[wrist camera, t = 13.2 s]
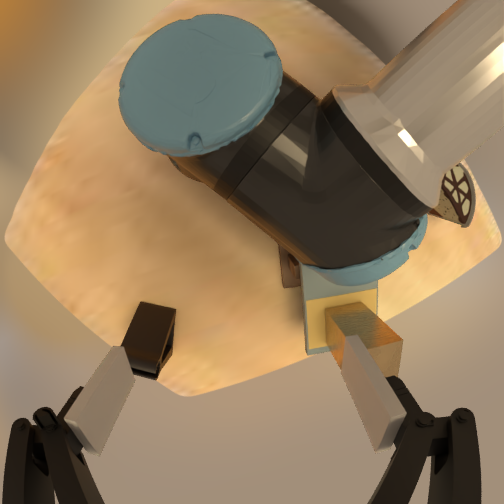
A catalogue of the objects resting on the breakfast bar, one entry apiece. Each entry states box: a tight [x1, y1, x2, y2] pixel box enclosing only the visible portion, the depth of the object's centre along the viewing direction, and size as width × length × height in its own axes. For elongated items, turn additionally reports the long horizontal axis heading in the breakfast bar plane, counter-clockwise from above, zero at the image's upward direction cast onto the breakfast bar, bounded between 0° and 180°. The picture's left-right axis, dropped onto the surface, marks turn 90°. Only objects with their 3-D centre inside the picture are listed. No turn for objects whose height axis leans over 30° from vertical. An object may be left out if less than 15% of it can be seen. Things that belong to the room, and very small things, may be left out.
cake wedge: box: [428, 163, 476, 228], centre depth 34 cm, size 12×6×10 cm, turn 48°
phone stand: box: [121, 302, 176, 380], centre depth 37 cm, size 9×6×12 cm, turn 169°
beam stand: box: [279, 244, 301, 288], centre depth 37 cm, size 15×13×6 cm
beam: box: [299, 263, 378, 355], centre depth 32 cm, size 22×10×4 cm, turn 7°
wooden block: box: [325, 302, 403, 377], centre depth 28 cm, size 5×5×11 cm
